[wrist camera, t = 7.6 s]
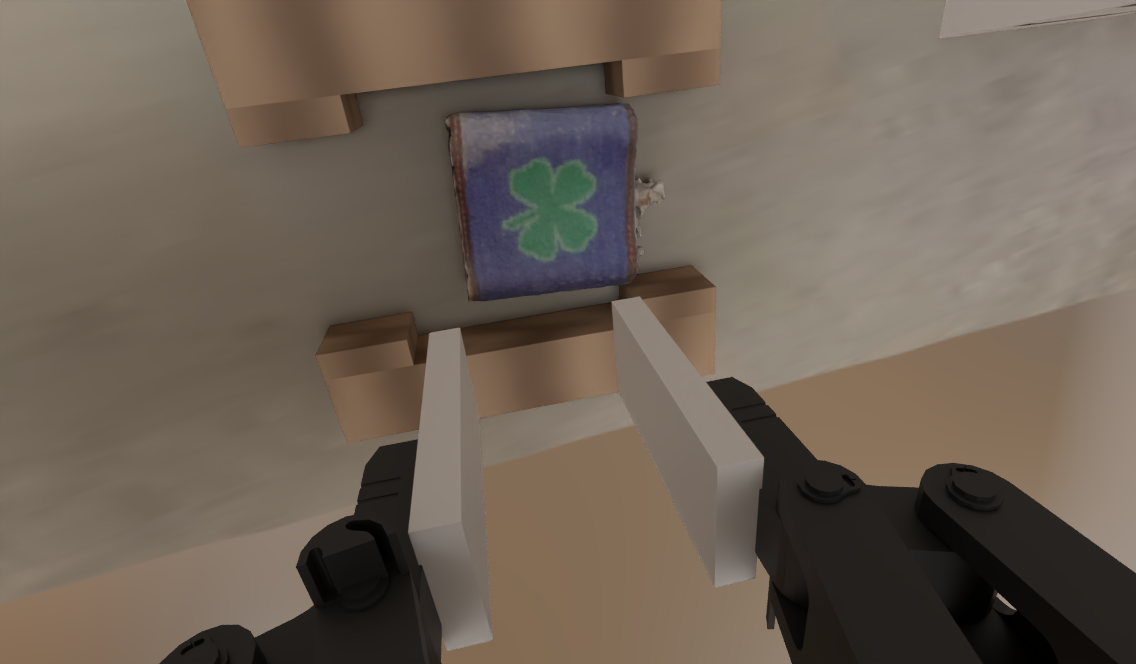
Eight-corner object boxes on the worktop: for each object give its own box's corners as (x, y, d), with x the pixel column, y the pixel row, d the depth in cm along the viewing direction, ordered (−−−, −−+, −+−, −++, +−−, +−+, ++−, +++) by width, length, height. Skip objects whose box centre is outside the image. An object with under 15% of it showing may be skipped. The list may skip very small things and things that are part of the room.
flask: (444, 115, 24) (676, 101, 26) (442, 111, 26) (653, 99, 28) (469, 311, 28) (669, 286, 30) (466, 291, 30) (649, 269, 32)
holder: (357, 407, 33) (347, 443, 30) (220, 2, 23) (183, -7, 20) (692, 346, 35) (714, 373, 32) (690, -46, 26) (722, -61, 23)
